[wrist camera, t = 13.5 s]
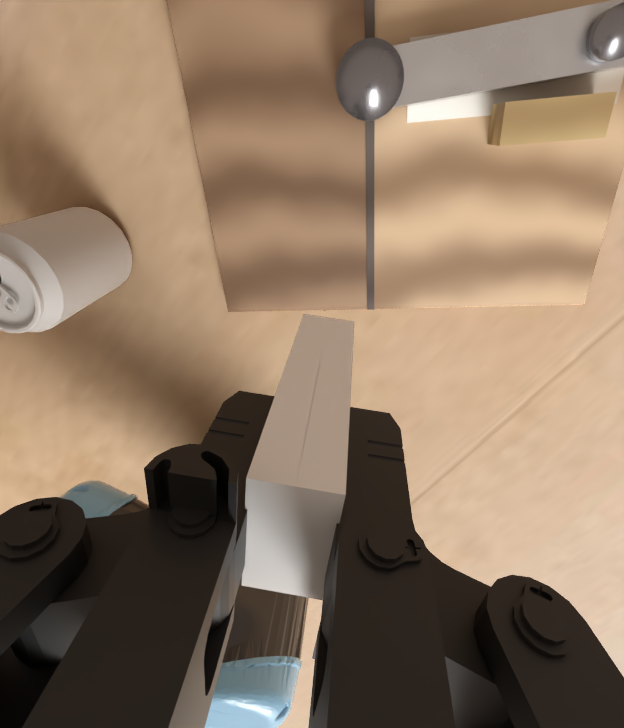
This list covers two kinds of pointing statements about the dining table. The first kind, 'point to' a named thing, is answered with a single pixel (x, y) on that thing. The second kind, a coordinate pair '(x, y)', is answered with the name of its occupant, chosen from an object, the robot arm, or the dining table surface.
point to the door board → (391, 163)
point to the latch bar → (480, 59)
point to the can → (58, 267)
